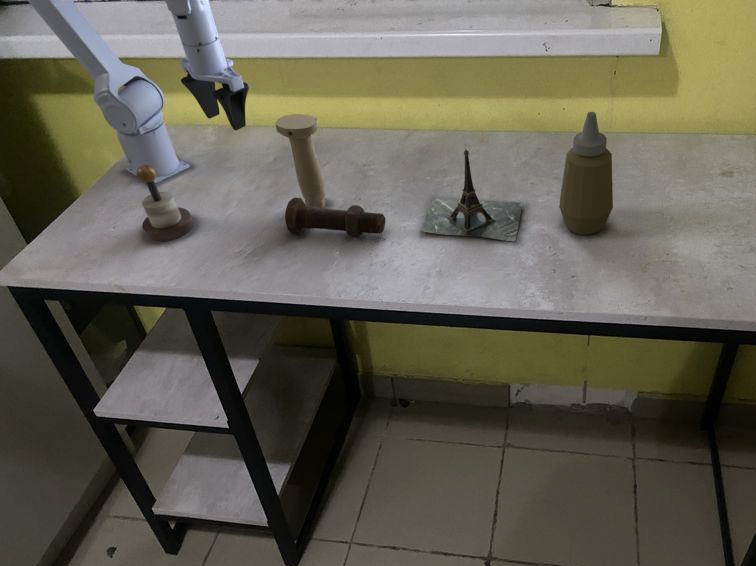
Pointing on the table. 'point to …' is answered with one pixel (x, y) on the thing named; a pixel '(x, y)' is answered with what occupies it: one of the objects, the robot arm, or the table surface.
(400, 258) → the table surface
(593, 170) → the squeeze bottle
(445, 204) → the eiffel tower figurine
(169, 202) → the joystick
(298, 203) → the bolt
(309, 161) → the handle
